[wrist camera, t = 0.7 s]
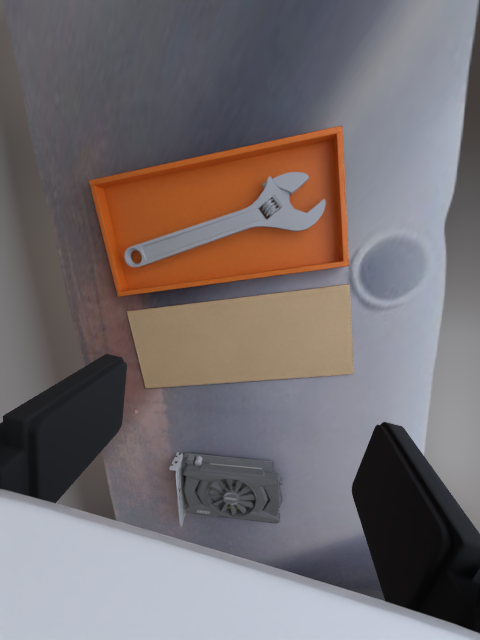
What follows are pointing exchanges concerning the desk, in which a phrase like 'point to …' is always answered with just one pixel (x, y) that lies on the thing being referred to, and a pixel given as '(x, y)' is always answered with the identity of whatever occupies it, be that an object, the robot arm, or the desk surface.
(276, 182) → the adjustable wrench
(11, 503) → the robot arm
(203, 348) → the desk mat
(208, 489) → the graphics card
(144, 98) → the desk surface
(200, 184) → the tool tray
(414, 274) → the desk surface
